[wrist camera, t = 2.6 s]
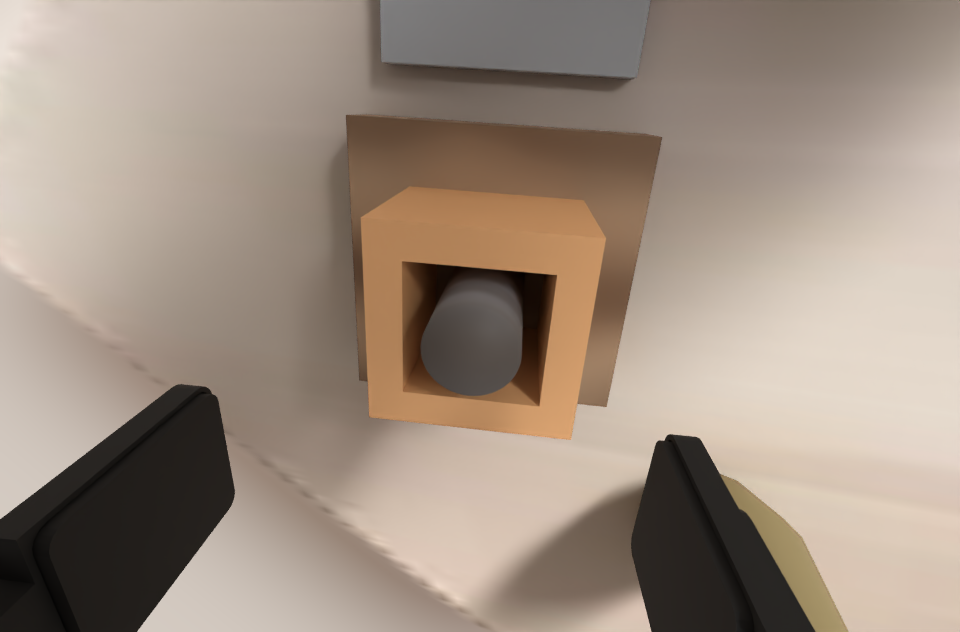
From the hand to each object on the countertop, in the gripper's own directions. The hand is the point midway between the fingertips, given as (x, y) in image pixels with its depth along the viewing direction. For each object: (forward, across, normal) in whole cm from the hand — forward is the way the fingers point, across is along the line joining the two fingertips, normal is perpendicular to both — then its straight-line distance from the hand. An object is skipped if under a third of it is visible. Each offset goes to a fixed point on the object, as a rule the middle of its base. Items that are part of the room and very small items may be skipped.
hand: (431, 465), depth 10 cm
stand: (+14, 0, -1) cm, 14 cm away
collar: (+11, 0, -1) cm, 11 cm away
